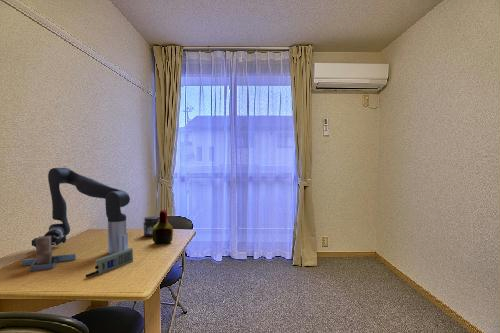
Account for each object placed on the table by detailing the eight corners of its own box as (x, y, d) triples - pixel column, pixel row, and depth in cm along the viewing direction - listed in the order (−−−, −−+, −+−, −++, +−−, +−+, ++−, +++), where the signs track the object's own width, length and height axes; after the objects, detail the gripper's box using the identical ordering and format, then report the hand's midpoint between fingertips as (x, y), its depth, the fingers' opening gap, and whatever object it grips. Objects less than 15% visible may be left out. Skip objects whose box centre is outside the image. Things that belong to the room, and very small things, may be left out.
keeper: (76, 258, 154) (75, 253, 154) (72, 266, 143) (72, 261, 143) (23, 264, 146) (23, 259, 145) (15, 273, 134) (15, 267, 134)
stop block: (51, 264, 145) (51, 235, 145) (49, 268, 141) (48, 238, 140) (39, 266, 143) (38, 236, 143) (36, 269, 139) (36, 239, 138)
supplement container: (147, 233, 206) (147, 215, 206) (162, 233, 205) (162, 216, 205) (140, 237, 196) (140, 218, 196) (156, 237, 195) (156, 219, 195)
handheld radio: (134, 261, 150) (89, 279, 127) (129, 261, 152) (83, 279, 129) (133, 248, 150) (88, 264, 127) (128, 247, 151) (83, 263, 129)
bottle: (173, 241, 186) (173, 209, 186) (172, 244, 180) (172, 210, 180) (153, 242, 185) (153, 209, 184) (151, 245, 179) (151, 211, 178)
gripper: (37, 230, 158) (28, 238, 143) (68, 228, 164) (63, 235, 149) (37, 244, 159) (28, 253, 144) (69, 241, 164) (63, 250, 149)
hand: (46, 244), depth 146 cm, fingers open, 8 cm apart
